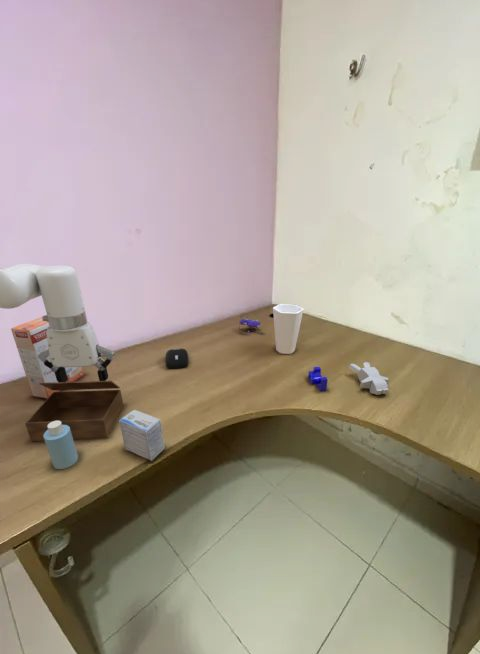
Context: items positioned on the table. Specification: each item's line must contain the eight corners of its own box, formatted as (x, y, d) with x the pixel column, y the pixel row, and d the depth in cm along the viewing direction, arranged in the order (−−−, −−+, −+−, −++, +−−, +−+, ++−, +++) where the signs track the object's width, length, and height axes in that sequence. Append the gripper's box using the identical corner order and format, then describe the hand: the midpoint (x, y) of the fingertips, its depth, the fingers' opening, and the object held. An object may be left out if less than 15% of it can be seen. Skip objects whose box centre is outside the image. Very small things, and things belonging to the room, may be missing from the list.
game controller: (257, 317, 142) (266, 320, 134) (253, 334, 143) (261, 338, 134) (237, 312, 138) (245, 315, 129) (233, 330, 139) (240, 334, 130)
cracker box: (50, 400, 86) (29, 330, 77) (31, 397, 87) (8, 328, 78) (86, 375, 99) (71, 312, 90) (69, 372, 99) (53, 310, 91)
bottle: (49, 470, 64) (35, 432, 60) (59, 453, 69) (47, 417, 64) (72, 468, 65) (61, 431, 61) (81, 452, 69) (71, 416, 65)
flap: (39, 384, 75) (39, 382, 75) (52, 390, 80) (53, 389, 80) (111, 381, 77) (111, 380, 77) (119, 388, 82) (119, 387, 82)
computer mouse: (187, 352, 116) (187, 342, 114) (188, 368, 105) (187, 357, 103) (166, 354, 114) (165, 344, 112) (165, 370, 103) (164, 359, 102)
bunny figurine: (370, 387, 91) (347, 359, 103) (366, 400, 93) (344, 371, 106) (398, 384, 93) (372, 356, 105) (393, 397, 96) (368, 368, 108)
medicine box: (165, 449, 71) (161, 418, 67) (151, 462, 67) (146, 431, 64) (139, 438, 74) (134, 408, 70) (124, 450, 70) (118, 419, 67)
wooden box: (31, 441, 72) (24, 423, 69) (58, 408, 83) (53, 391, 81) (107, 437, 74) (103, 419, 71) (123, 405, 85) (120, 389, 83)
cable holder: (308, 377, 102) (309, 367, 101) (318, 377, 103) (319, 366, 101) (315, 391, 95) (316, 380, 94) (326, 390, 96) (327, 379, 94)
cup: (298, 345, 125) (302, 304, 118) (300, 356, 116) (304, 313, 109) (271, 343, 125) (273, 303, 118) (270, 355, 116) (272, 312, 109)
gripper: (18, 326, 68) (39, 391, 75) (101, 325, 71) (114, 389, 78) (37, 315, 75) (55, 375, 82) (112, 314, 77) (123, 373, 84)
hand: (84, 382), depth 80 cm, fingers open, 9 cm apart
